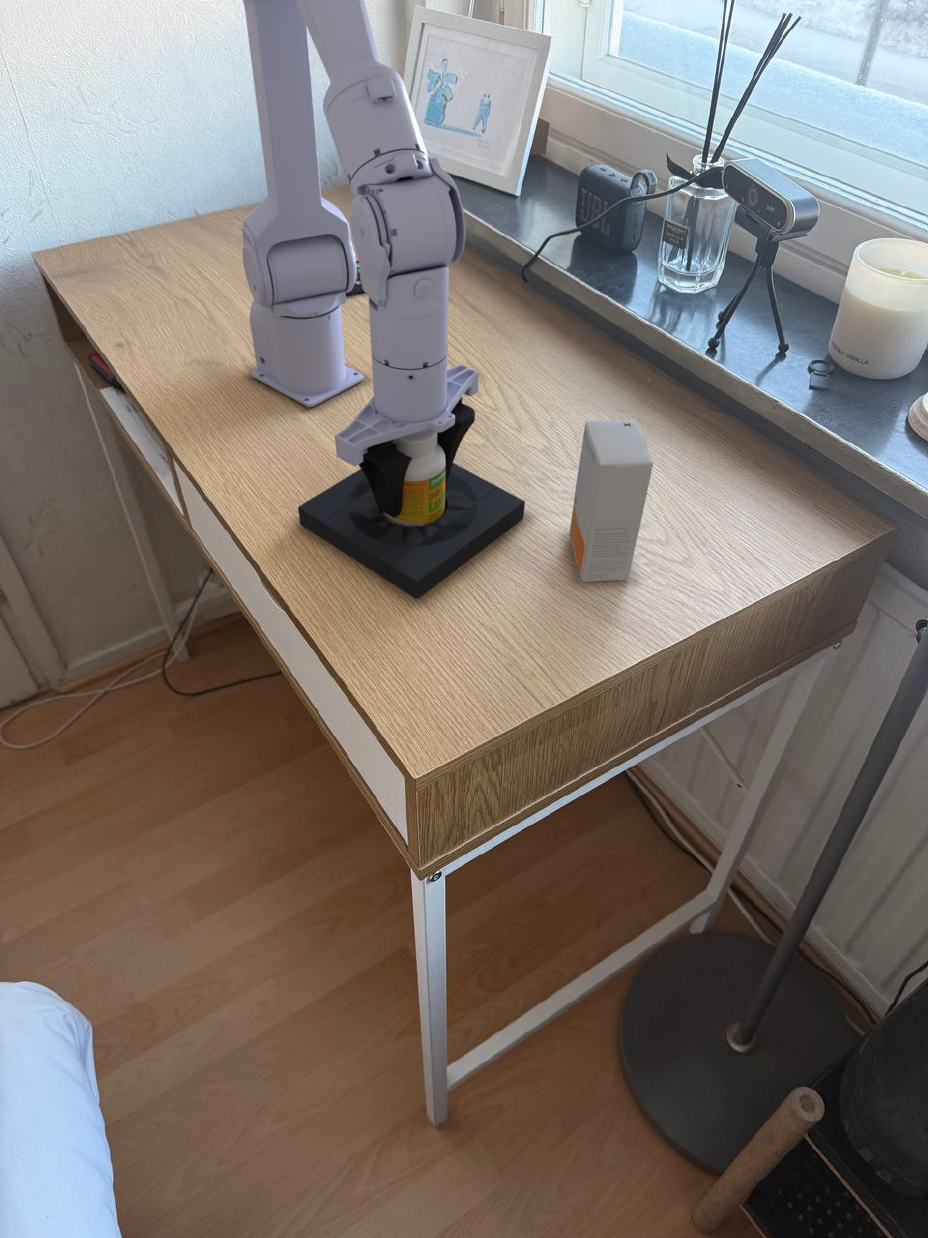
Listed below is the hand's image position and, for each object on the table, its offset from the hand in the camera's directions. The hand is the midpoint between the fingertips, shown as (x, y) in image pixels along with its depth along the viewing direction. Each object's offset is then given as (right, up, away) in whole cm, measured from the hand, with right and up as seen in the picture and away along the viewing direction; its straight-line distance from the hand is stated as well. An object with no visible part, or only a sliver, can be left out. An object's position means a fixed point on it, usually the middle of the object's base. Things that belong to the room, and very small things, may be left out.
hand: (412, 495), depth 75 cm
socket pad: (0, -2, +2) cm, 3 cm away
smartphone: (-11, +32, +34) cm, 48 cm away
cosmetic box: (+16, -6, -1) cm, 17 cm away
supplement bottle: (0, -2, +2) cm, 3 cm away
